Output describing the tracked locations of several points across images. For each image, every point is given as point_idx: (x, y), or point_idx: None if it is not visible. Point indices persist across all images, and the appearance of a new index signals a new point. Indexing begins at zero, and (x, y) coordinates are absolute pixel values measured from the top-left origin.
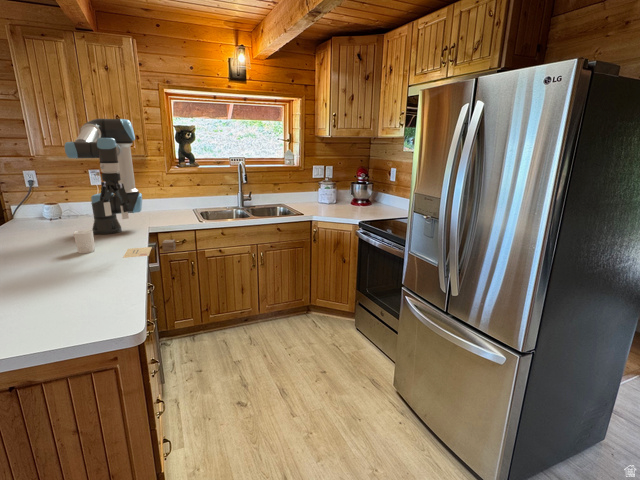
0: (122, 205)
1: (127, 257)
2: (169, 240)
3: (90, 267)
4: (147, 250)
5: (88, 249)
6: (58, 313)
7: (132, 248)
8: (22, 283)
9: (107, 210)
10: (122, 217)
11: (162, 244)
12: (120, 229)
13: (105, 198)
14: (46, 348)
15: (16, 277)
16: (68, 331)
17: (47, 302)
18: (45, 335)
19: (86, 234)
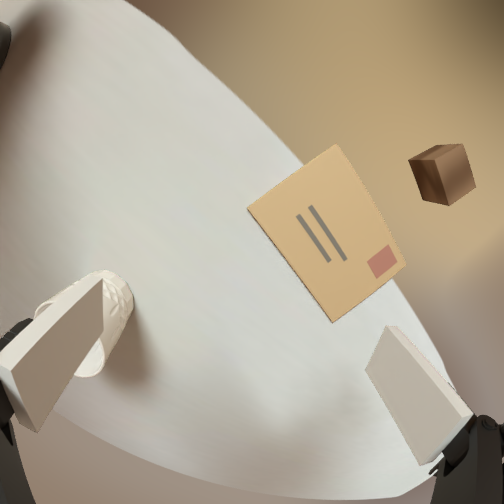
0: (446, 457)
1: (347, 311)
2: (454, 162)
3: (297, 407)
4: (359, 202)
5: (129, 315)
6: (394, 476)
7: (264, 195)
8: (244, 479)
9: (78, 346)
10: (376, 379)
11: (444, 204)
12: (7, 31)
13: (26, 484)
14: (421, 482)
15: (195, 469)
16: (424, 473)
17: (359, 480)
18: (409, 483)
19: (107, 357)
